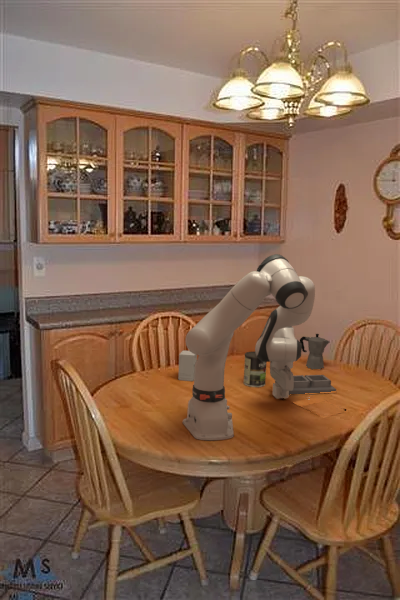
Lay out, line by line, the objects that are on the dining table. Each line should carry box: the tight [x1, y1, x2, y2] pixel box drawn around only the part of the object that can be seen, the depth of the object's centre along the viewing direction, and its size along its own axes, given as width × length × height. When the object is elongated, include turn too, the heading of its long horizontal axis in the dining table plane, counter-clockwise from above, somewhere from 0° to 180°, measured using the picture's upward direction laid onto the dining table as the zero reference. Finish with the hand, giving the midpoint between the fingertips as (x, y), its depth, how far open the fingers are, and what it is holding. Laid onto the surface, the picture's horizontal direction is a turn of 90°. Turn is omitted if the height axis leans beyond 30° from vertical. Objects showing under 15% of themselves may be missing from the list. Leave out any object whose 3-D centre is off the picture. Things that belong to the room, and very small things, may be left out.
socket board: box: [289, 374, 337, 396], centre depth 226 cm, size 14×22×5 cm, turn 100°
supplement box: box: [177, 350, 198, 382], centre depth 234 cm, size 7×7×13 cm
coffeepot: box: [299, 333, 331, 370], centre depth 258 cm, size 15×9×18 cm, turn 67°
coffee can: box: [243, 351, 267, 388], centre depth 230 cm, size 10×10×14 cm
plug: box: [271, 382, 290, 400], centre depth 213 cm, size 5×6×6 cm
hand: (280, 393), depth 213 cm, fingers closed on plug, 5 cm apart
